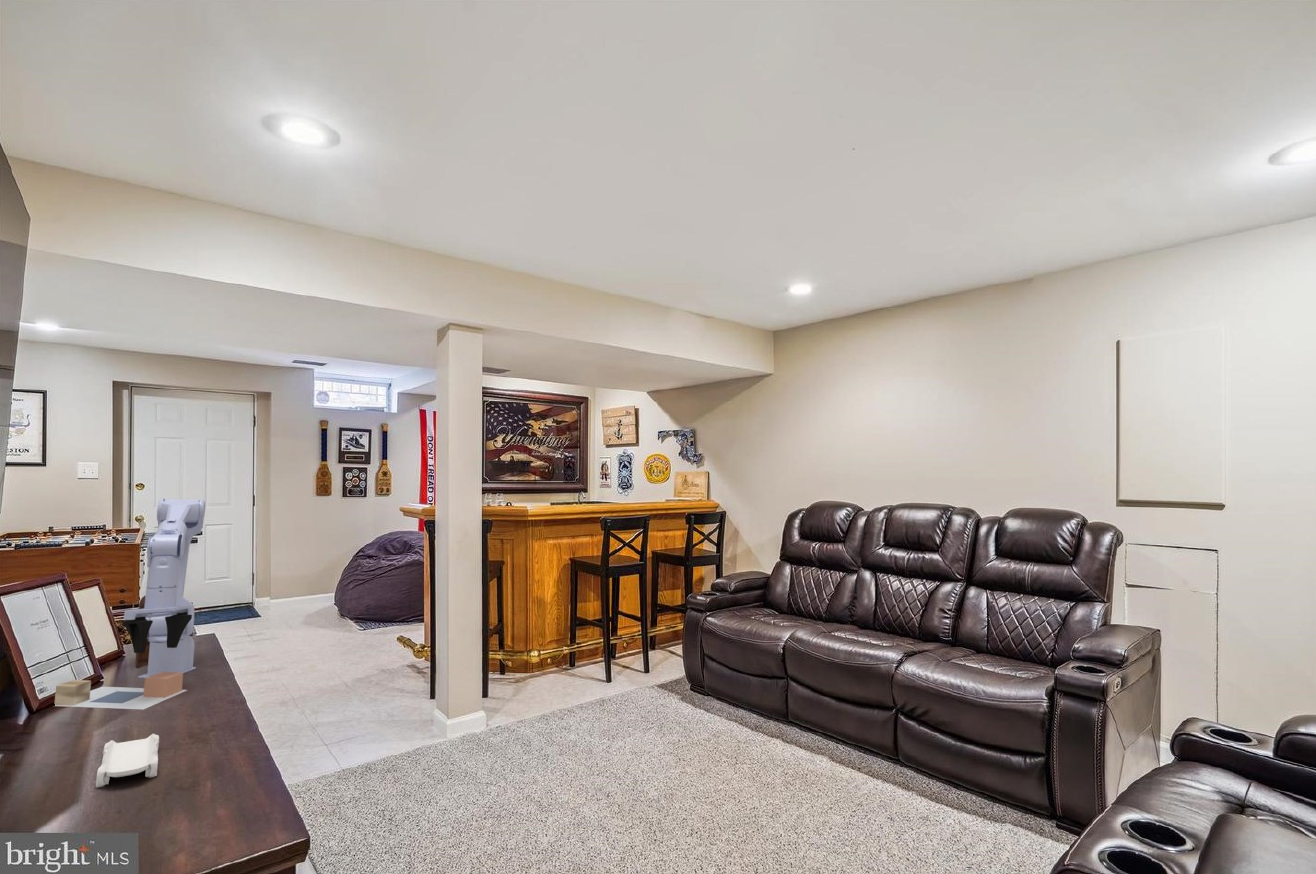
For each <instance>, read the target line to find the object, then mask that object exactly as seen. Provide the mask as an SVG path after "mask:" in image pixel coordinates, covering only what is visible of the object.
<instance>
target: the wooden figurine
mask: <svg viewBox="0 0 1316 874" xmlns="http://www.w3.org/2000/svg"><path fill="white" fill-rule="evenodd" d="M145 596H146V594H145V595H144V596H142V597H141V599H140V600H139V603H138V609H144V606H145ZM149 648H150V642H149V639H147V643H146V649H145V652H144V653H135V667H136V668H138V669H140V668H142V667H148V660H149Z"/></svg>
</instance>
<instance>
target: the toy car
mask: <svg viewBox="0 0 1316 874" xmlns="http://www.w3.org/2000/svg"><path fill="white" fill-rule="evenodd" d="M159 745H160V735H158V734H156V733H152V734H150V735H149V736H148V737H146V738H142V739H136V740H135V739H134V740H127V741H123V742H115V740H114V739H111V740H110V741H108V742H106V743H105V744H104V747H103V752H102V753H103V754H102V756H103V757H102V760H101V764H100V766H99V767H98V769H97V773H96V780H95V788H103V787H105V786H106V785H109V781H110V780H111V778H120V777H121V778H123V777H128V776H132V775H136V774H140V773H142V772H144V771H145V777H146V778H149V779H150V778H154V777H155V776H156V777H157V775H158V766H159V765H158V764H159V754H158V751H159ZM110 777H111V778H110Z"/></svg>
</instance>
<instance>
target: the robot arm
mask: <svg viewBox="0 0 1316 874" xmlns="http://www.w3.org/2000/svg"><path fill="white" fill-rule="evenodd" d="M205 514H206V501H205V500H204V498H200V499H189V498H187V499H186V498H185V499H183V498H181V499H178V498H177V499H176V498H170V499H169V498H161V499H160V500H158V503H157V509H156V520H157V529H156V532H155V534H153V536H149V538H148V542H147V545H146V546H147V547H146V557H147V558H146V559H147V560H146V561H147V562H146V563H147V564H146V567H147V569H148V570H147V580H146V588H145V595H146V596H145V595H144V596H145V606H144V609H139V608H137V609H130V610H129V609H128V610H124V615H123V625H124V627H125V629H126V630H127V632H128V635H129V636H130V640H131V644H132V647H133V648H132V649H133V653H134V654H136V653H144V652H145V649H146V643H147V639H149V642H150V648H149V660H148V666H147V671H146V673H143V674H141V675H138V676H137V678H143V679H145V678H147V677H150V676H152V675H155V674H158V673H160V672H178V673H183V674H185V673H188V672H190V671H192V670H195V669H196V668H197V667H195V666H194V658H195V657H194V656H195V654H194V653H195V641H194V639H193V637H192V636H190V635H192V634H193V631H194V623H195V606H194V603H193V602H191V601H190V600H188V599H186V598H185V597H184V593H185V584H186V577H187V568H188V560H189V554H190V553H189V552H190V546H191V543H192V540H193V537H194V536H196V535H198V534H200V533H202V530H203V528H204V522H205V521H204V520H205Z"/></svg>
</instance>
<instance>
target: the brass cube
mask: <svg viewBox="0 0 1316 874" xmlns="http://www.w3.org/2000/svg"><path fill="white" fill-rule="evenodd" d="M91 685H92V680H83V679H82V680H80V679H79V680H77V679H71V680H69V681H66V682H63V683H61V684H57V685H55V694H54V695H55V696H54V704H55V705H69V706H74V705H76V704H79V703H81V702H84V701H87V700H89V699H90V691H91V687H92V686H91Z"/></svg>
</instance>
